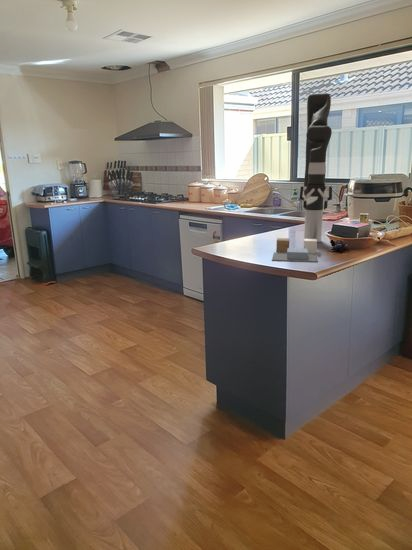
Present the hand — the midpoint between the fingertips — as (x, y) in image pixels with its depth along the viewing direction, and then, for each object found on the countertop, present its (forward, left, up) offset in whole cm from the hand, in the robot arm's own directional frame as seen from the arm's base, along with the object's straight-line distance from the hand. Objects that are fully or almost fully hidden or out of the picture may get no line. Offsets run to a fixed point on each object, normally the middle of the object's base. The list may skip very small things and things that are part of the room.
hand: (314, 209), depth 197 cm
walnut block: (-7, -14, -22) cm, 27 cm away
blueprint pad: (+7, -7, -21) cm, 24 cm away
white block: (-7, -1, -22) cm, 23 cm away
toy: (-14, +13, -22) cm, 29 cm away
